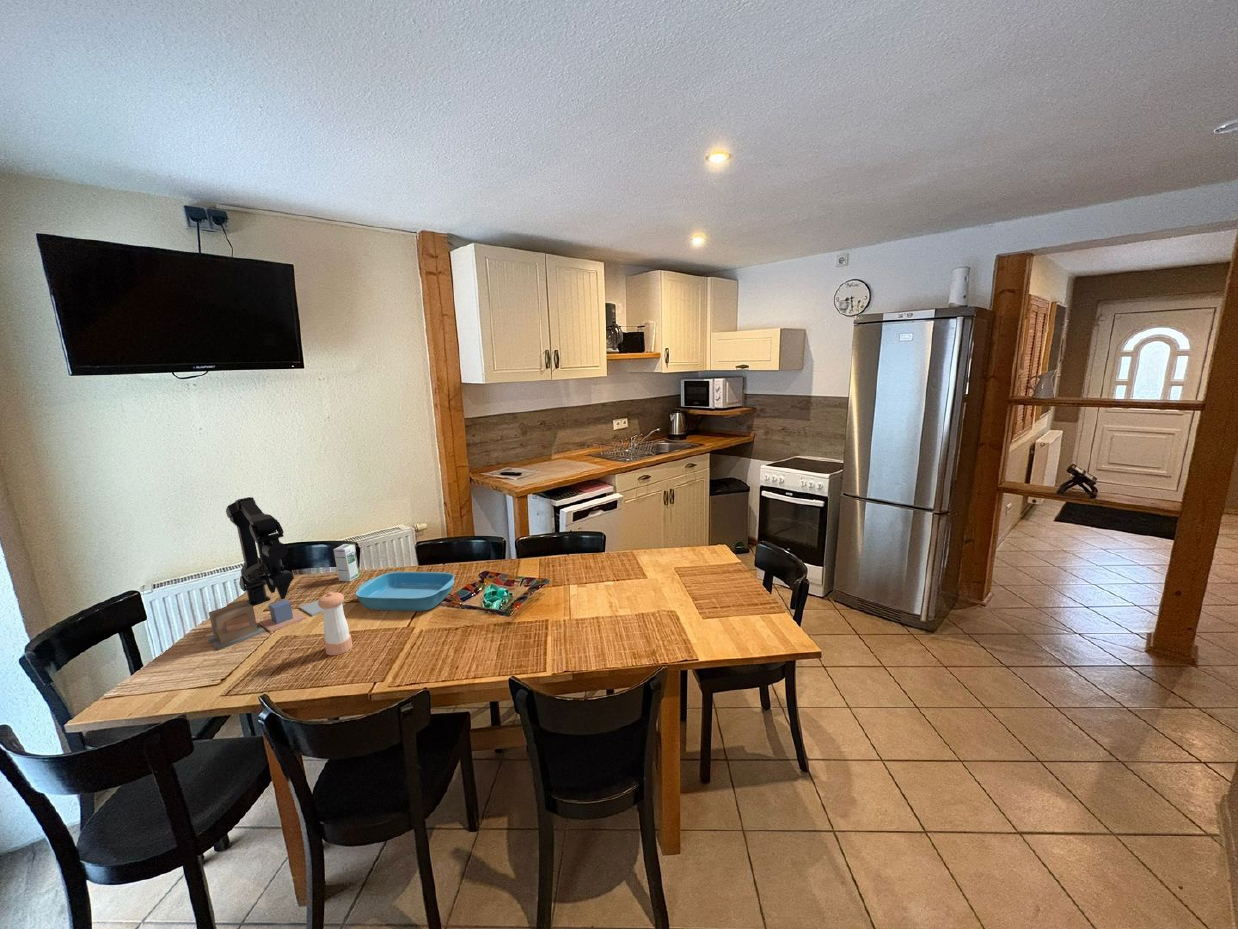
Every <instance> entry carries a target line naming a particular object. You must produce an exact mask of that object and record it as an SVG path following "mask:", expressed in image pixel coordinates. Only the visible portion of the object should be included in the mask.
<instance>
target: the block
mask: <svg viewBox="0 0 1238 929" xmlns="http://www.w3.org/2000/svg"><path fill="white" fill-rule="evenodd" d="M291 605H292V604H291V602H290V601H288V600H287V599H286V598H285V599H280V600H279V601H275V602H273V603H270V604H268V608H269V614H270V618H271V619H272V621H273V622H275V623H276V624H280V623H282V622H285V621H287V620H290V619H293V614H292V606H291Z"/></svg>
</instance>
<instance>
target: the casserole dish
mask: <svg viewBox="0 0 1238 929" xmlns="http://www.w3.org/2000/svg"><path fill="white" fill-rule="evenodd" d="M455 577H456V576H455V574H453V573H452V572H451V573H449V572H443V571H442V572H441V571H439V572H438V571H392V572H387V573H383V574H380V575H378V576H377V577H374V578H371V579H369V580H366V581H365V582H363V583H361V584H360V585H359V586H358V587H357V589H358V590H356V592H355V597H356V598H357V599H358V602H360V605H362V606H363V607H364V608H366V609H370V610H375V611H376V610H377V611H394V612H395V611H397V612H424V611H428V610H432V609H433V608H435V607H436V606H438V605H439V604H440V603H441V602H442V601H444V599H446V598H447V597H448V596H449V595H450V593H451V592H452V590H453V586H454V584H455Z"/></svg>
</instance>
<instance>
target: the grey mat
mask: <svg viewBox="0 0 1238 929" xmlns="http://www.w3.org/2000/svg"><path fill="white" fill-rule="evenodd" d="M318 601H319V599H316V600H314V601H311V602H309V603H305V604H304V605H300V606H299V609H300V610H302V611H303V612H305V613H306V614H308V615H310V616H312V617H313V616H316V615H319V614H323V611H322V608H320V607H319V605H318ZM342 605H344V601H343V603H342Z"/></svg>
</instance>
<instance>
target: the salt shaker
mask: <svg viewBox="0 0 1238 929" xmlns="http://www.w3.org/2000/svg"><path fill="white" fill-rule="evenodd" d="M318 600H319V601H318V605H319V607H320V608H322V611H323V612H322V616H323V634H324V638H325V639H324V640H325V641H324V646H325V648H324V649H325V652H326V655H329V656H339V655H342V654H343V653H344V654H345V653H346V652H348V651H350V650H351V649H352V647H353V640H352V635H351V633H350V630H349V625H348V624H349V623H348V621H347V619H346V616H345V613H344V606H343V604H342V603H343V602H344V601H345V596H344V594H342V593H341V592H335V591H334V592H332V591H329V592H327V593H326V594H323V595H322V596H321V597H320V598H319V599H318Z"/></svg>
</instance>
